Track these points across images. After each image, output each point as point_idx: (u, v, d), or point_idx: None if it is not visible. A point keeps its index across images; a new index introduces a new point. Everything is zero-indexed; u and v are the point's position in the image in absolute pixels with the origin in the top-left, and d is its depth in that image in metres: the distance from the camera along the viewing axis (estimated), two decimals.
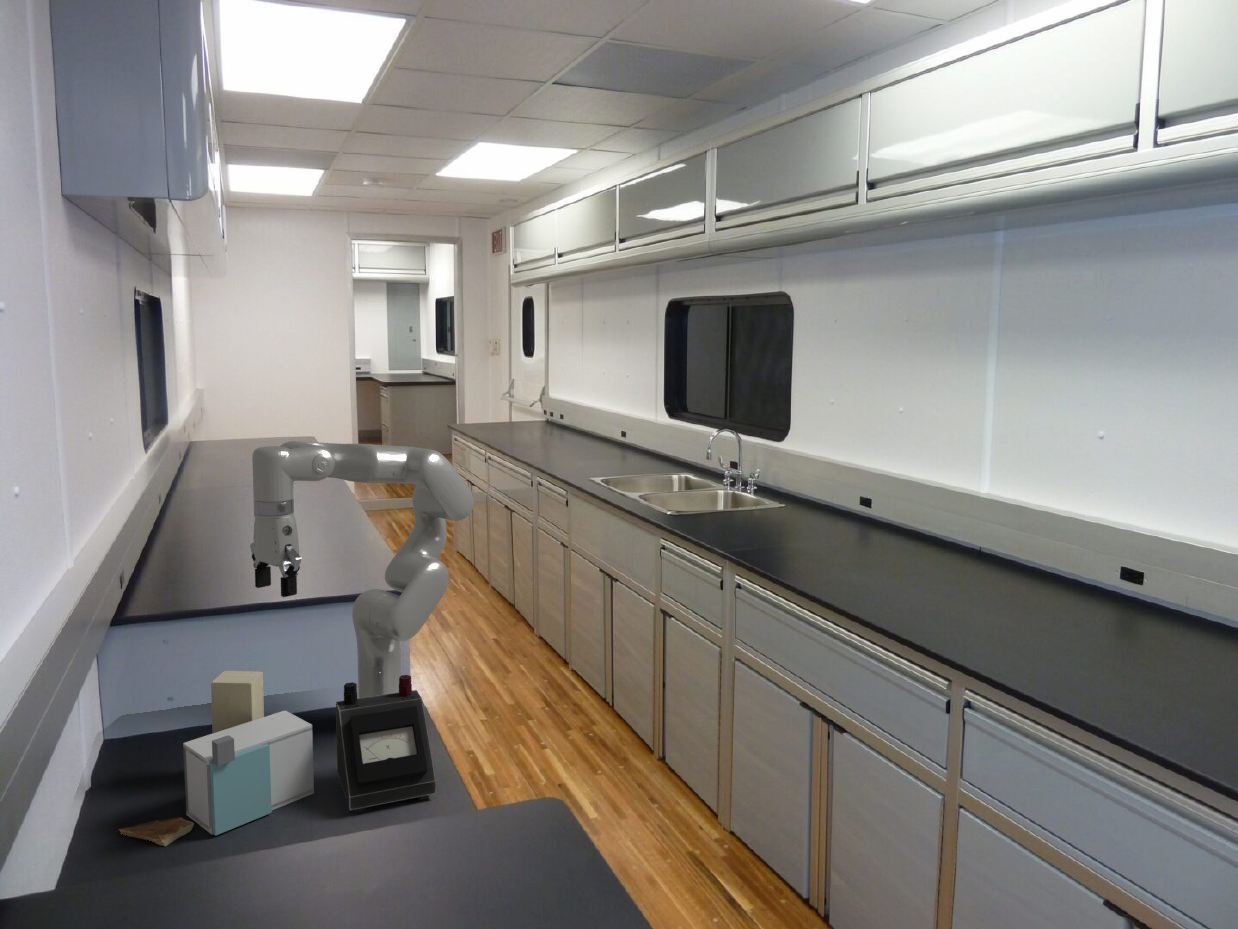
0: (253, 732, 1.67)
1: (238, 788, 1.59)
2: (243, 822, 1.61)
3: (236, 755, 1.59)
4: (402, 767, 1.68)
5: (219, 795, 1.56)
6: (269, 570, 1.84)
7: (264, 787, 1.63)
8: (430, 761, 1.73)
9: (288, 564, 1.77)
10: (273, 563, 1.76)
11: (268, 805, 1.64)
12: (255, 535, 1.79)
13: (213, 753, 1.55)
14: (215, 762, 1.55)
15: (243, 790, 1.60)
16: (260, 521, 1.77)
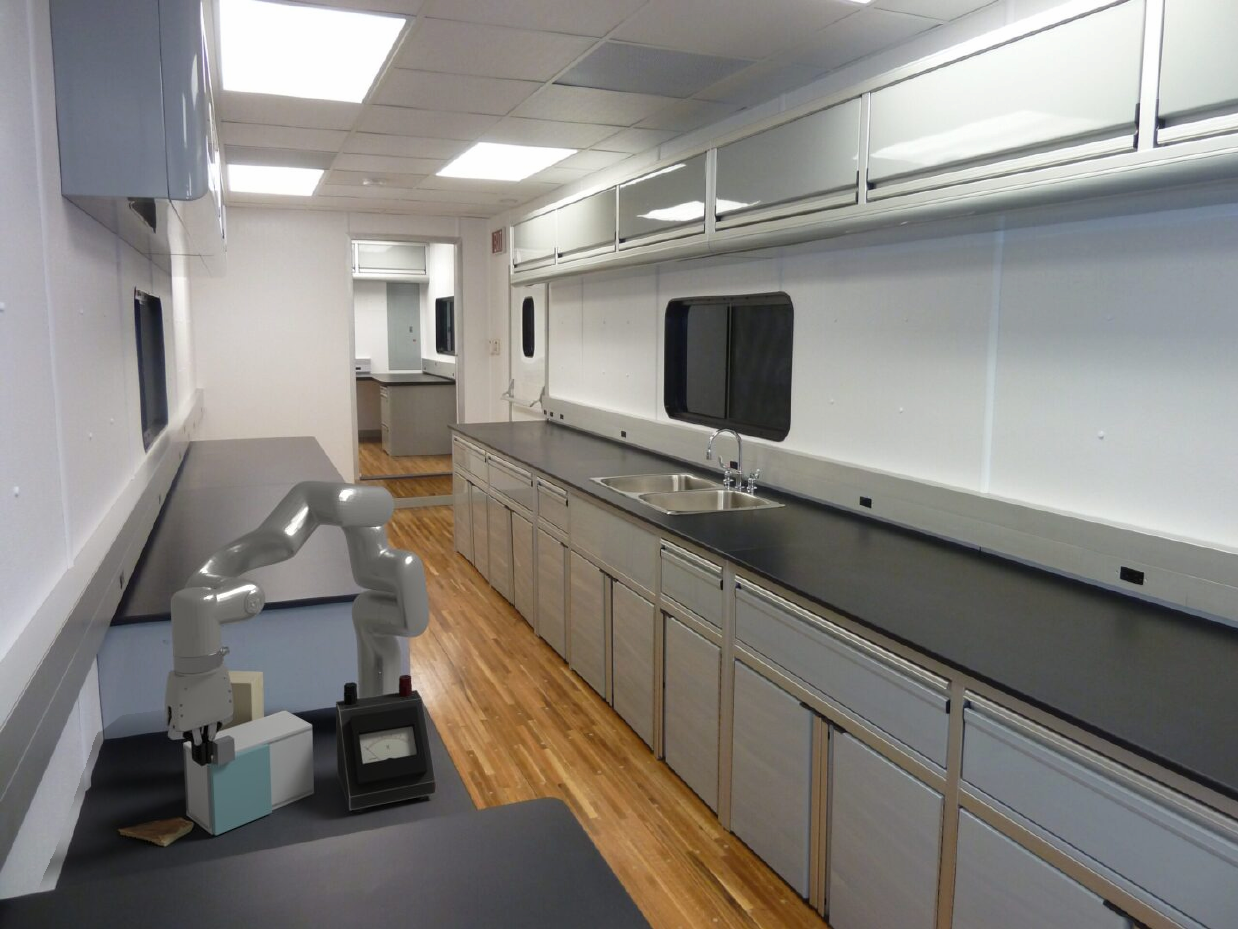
0: (253, 732, 1.67)
1: (238, 787, 1.59)
2: (243, 822, 1.61)
3: (237, 755, 1.59)
4: (402, 767, 1.68)
5: (219, 795, 1.56)
6: None
7: (264, 787, 1.63)
8: (430, 761, 1.73)
9: None
10: (223, 717, 1.53)
11: (269, 804, 1.64)
12: (186, 702, 1.48)
13: (213, 753, 1.55)
14: (215, 762, 1.55)
15: (243, 790, 1.60)
16: (201, 679, 1.49)
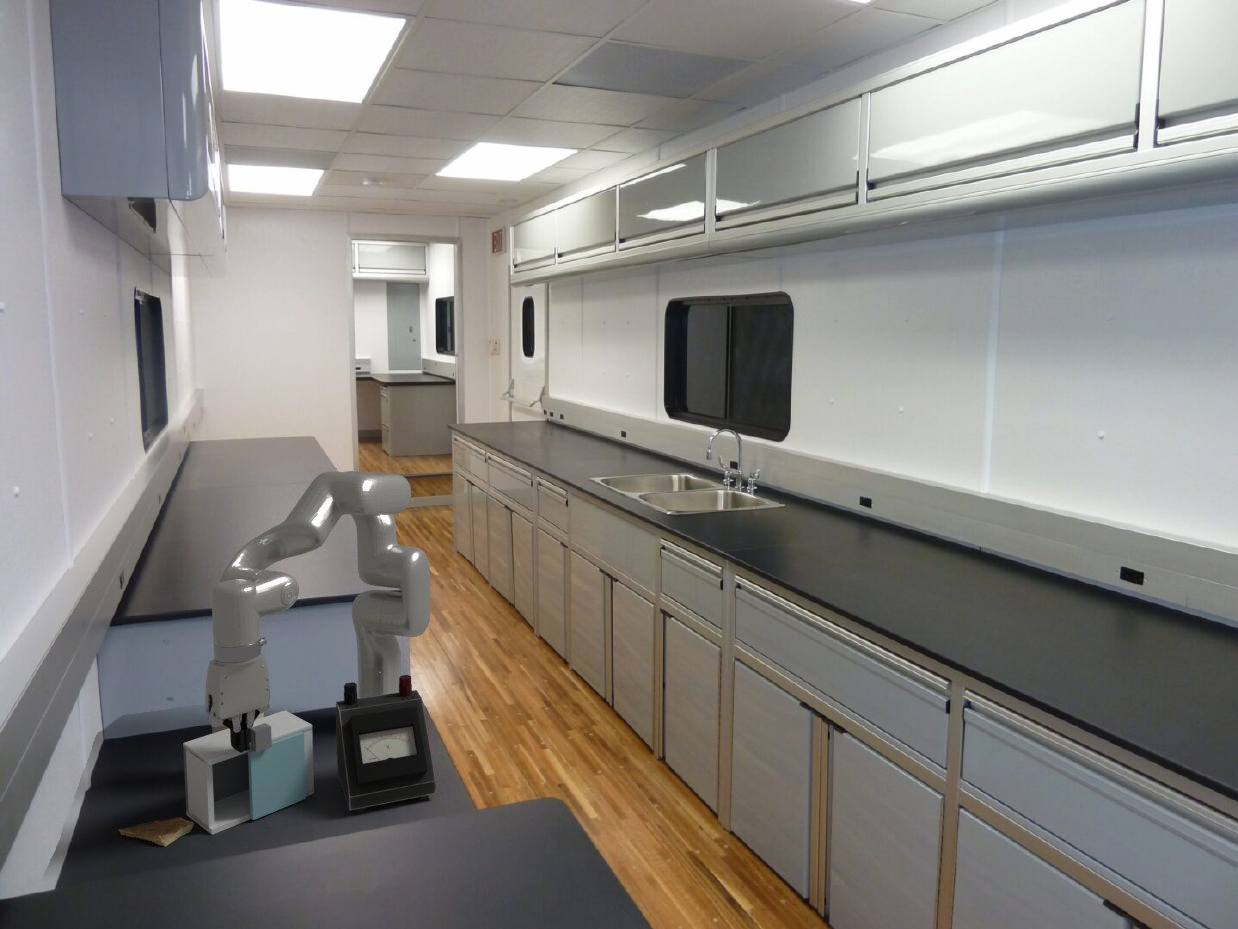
0: None
1: (274, 774, 1.64)
2: (279, 807, 1.66)
3: (273, 742, 1.64)
4: (402, 767, 1.68)
5: (256, 781, 1.62)
6: None
7: (299, 774, 1.68)
8: (430, 761, 1.73)
9: None
10: (260, 705, 1.59)
11: (303, 791, 1.69)
12: (226, 690, 1.53)
13: (251, 740, 1.61)
14: (253, 749, 1.60)
15: (279, 776, 1.65)
16: (240, 669, 1.54)
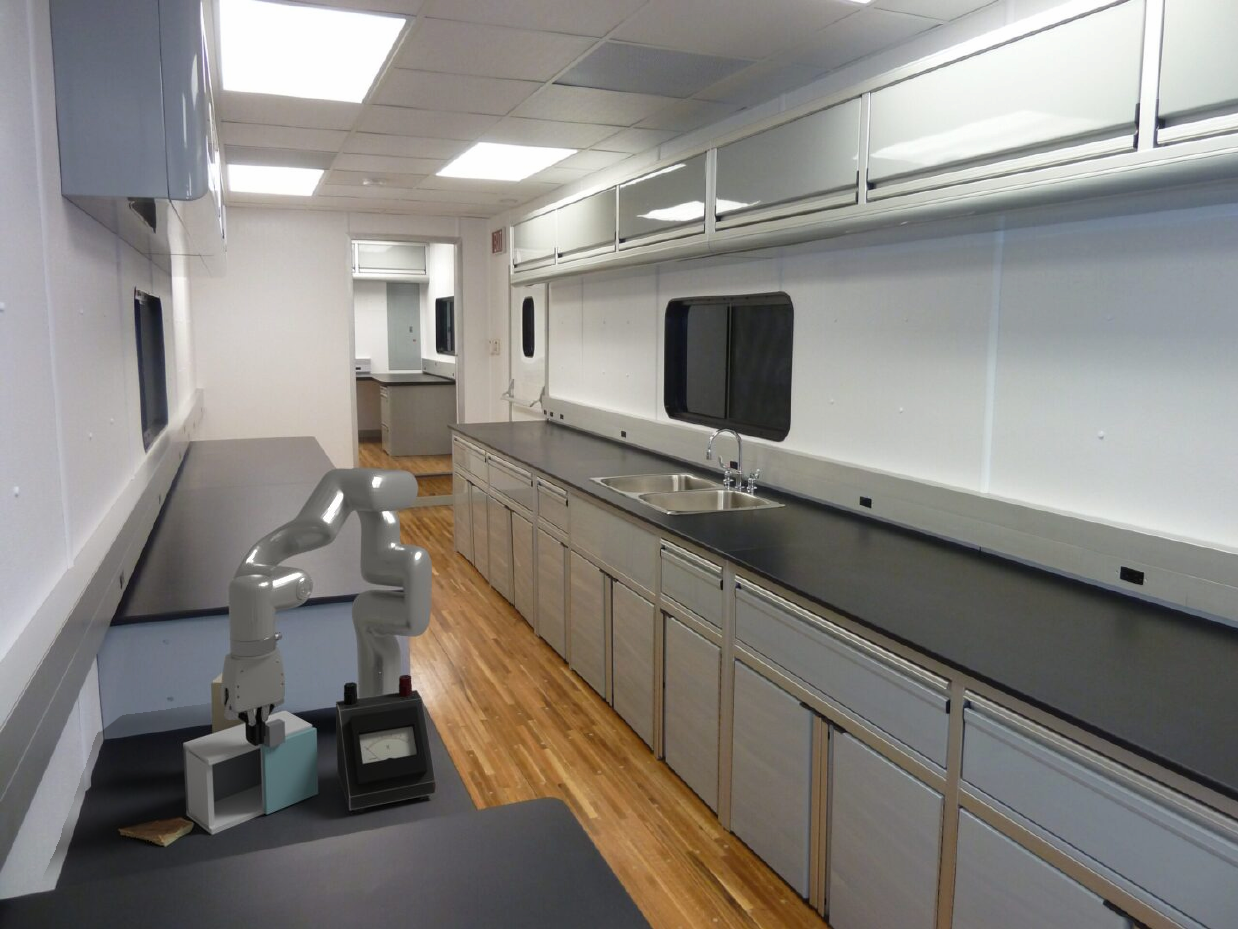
0: None
1: (287, 769, 1.66)
2: (292, 802, 1.68)
3: (286, 737, 1.66)
4: (402, 767, 1.68)
5: (270, 776, 1.64)
6: None
7: (311, 769, 1.70)
8: (430, 761, 1.73)
9: None
10: (275, 699, 1.61)
11: (315, 786, 1.71)
12: (242, 684, 1.55)
13: None
14: (267, 744, 1.62)
15: (292, 771, 1.67)
16: (256, 663, 1.57)
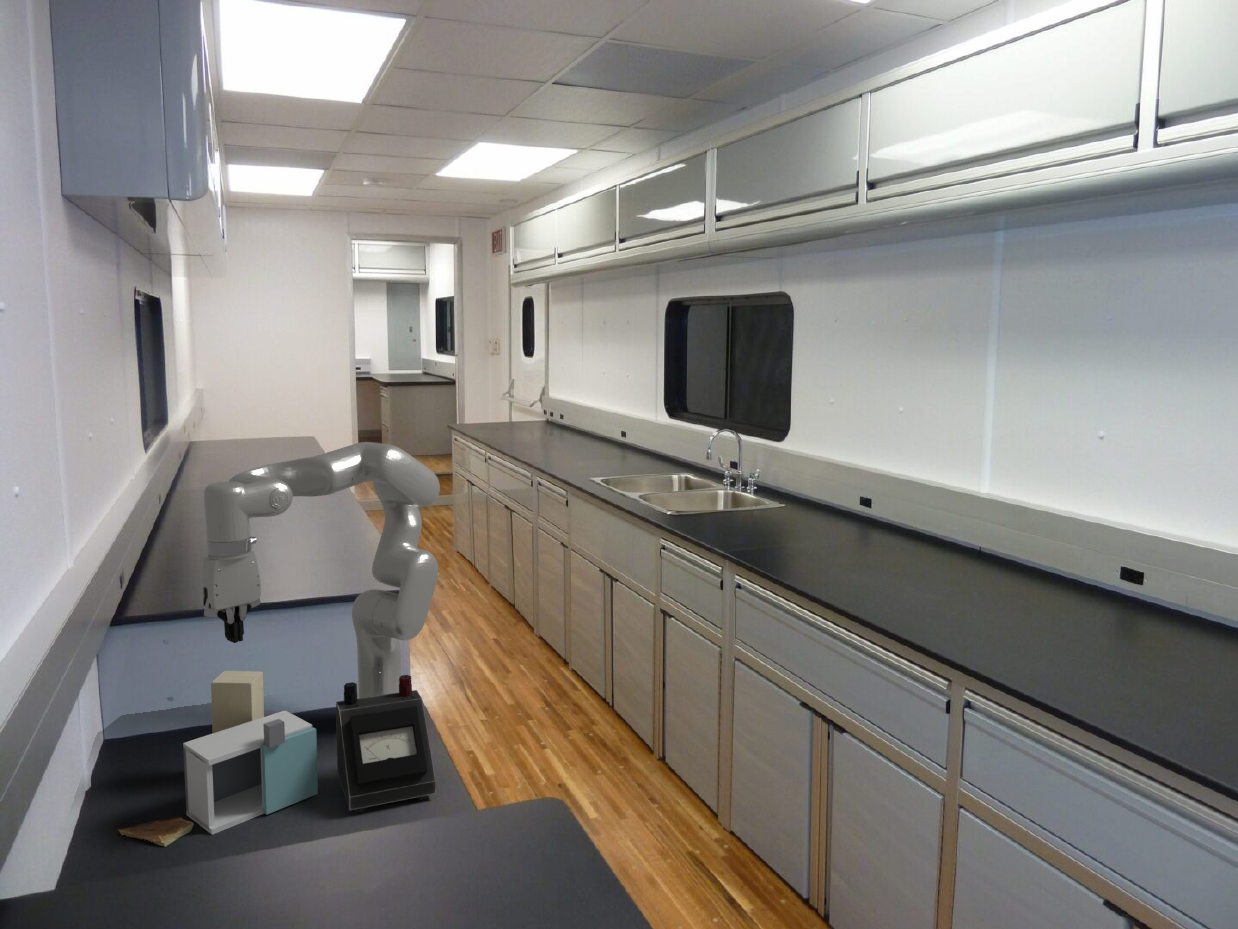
0: (253, 732, 1.67)
1: (287, 769, 1.66)
2: (292, 802, 1.68)
3: (286, 738, 1.66)
4: (402, 767, 1.68)
5: (270, 776, 1.64)
6: None
7: (311, 769, 1.70)
8: (430, 761, 1.73)
9: None
10: (252, 599, 1.70)
11: (315, 786, 1.71)
12: (220, 583, 1.65)
13: (265, 736, 1.63)
14: (267, 744, 1.62)
15: (292, 771, 1.67)
16: (233, 563, 1.66)
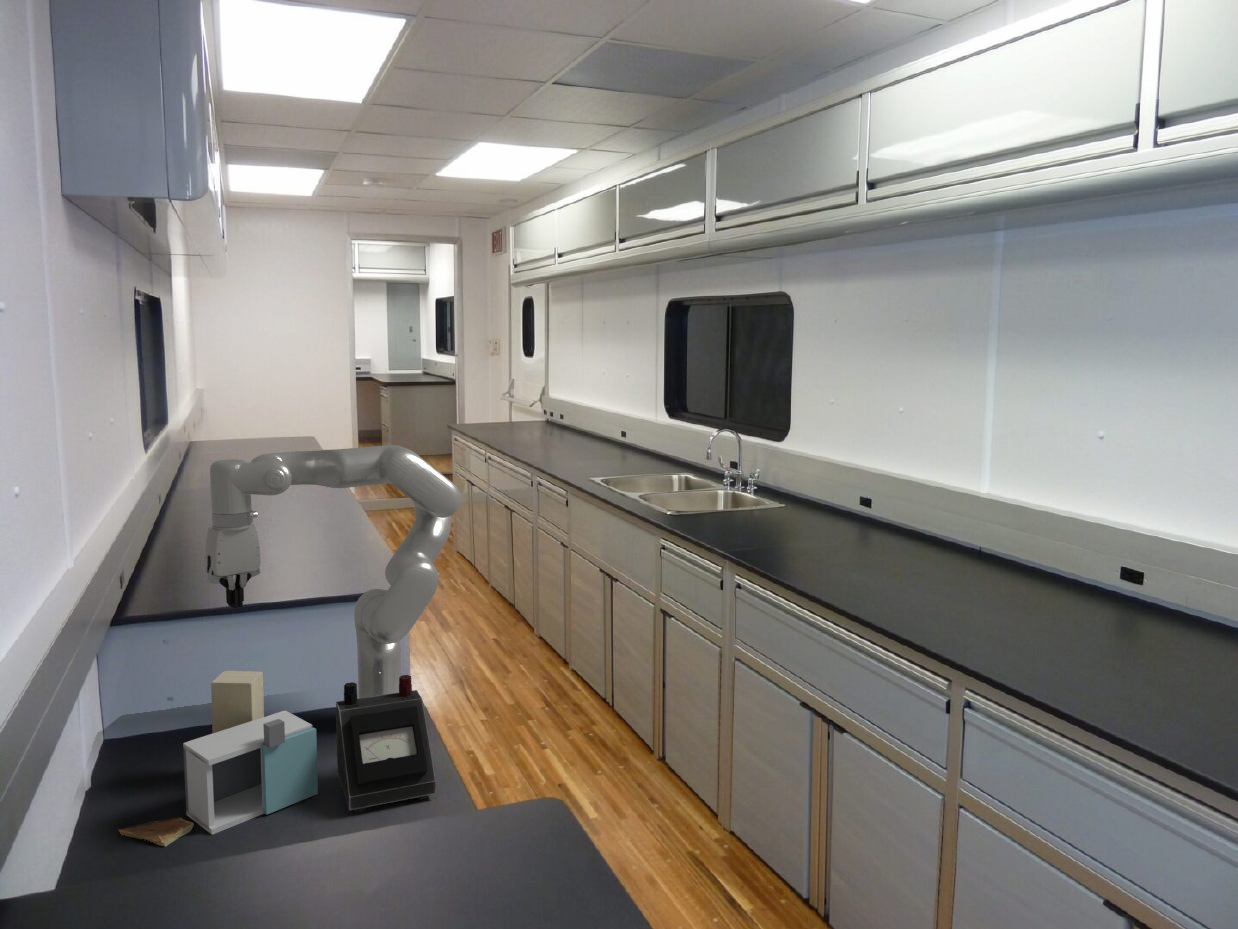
0: (253, 732, 1.67)
1: (287, 769, 1.66)
2: (292, 802, 1.68)
3: (286, 738, 1.66)
4: (402, 767, 1.68)
5: (270, 776, 1.64)
6: None
7: (311, 769, 1.70)
8: (430, 761, 1.73)
9: None
10: (252, 568, 1.85)
11: (315, 786, 1.71)
12: (222, 551, 1.79)
13: (265, 736, 1.63)
14: (267, 744, 1.62)
15: (292, 771, 1.67)
16: (235, 534, 1.81)
